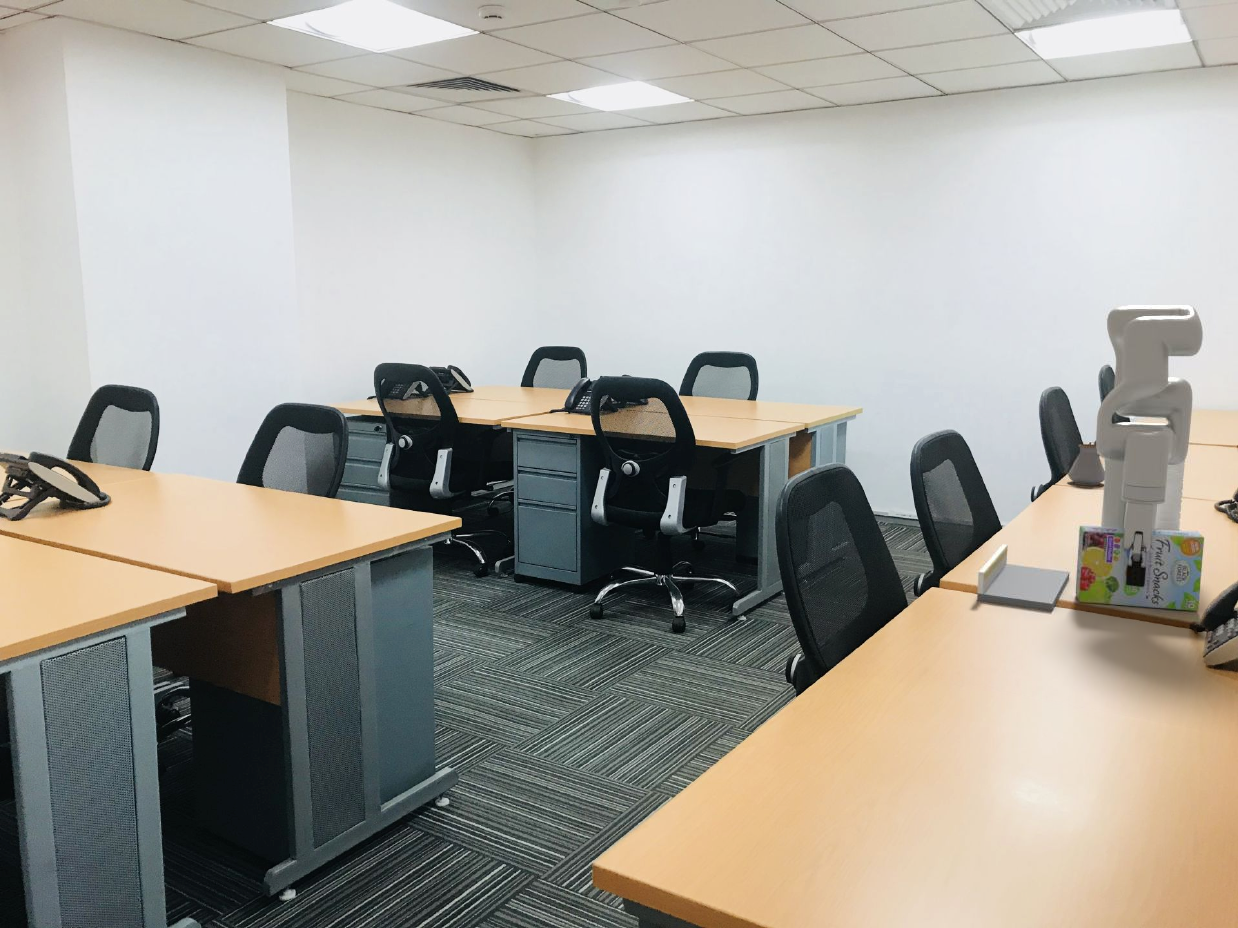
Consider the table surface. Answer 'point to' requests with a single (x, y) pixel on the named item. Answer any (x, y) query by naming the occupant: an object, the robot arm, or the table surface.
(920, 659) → the table surface
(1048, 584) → the shelf
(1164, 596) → the snack box
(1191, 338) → the robot arm
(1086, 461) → the coffee pot
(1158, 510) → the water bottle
